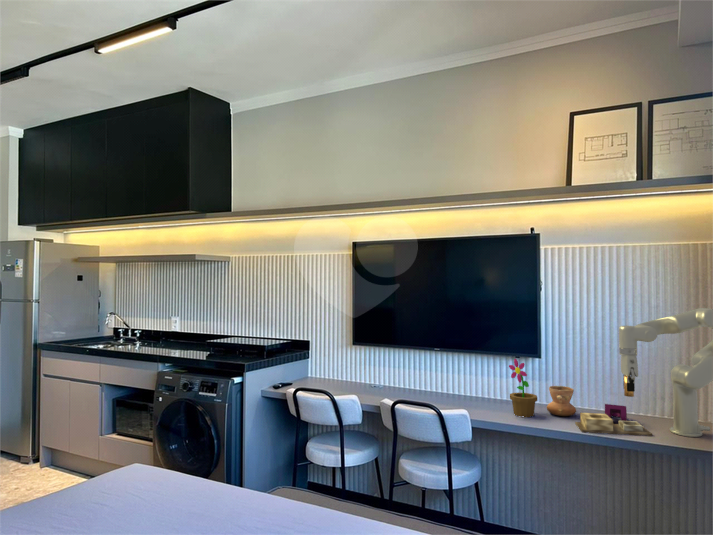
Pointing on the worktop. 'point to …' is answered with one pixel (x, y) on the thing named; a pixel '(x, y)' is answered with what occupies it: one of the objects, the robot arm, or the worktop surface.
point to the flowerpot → (522, 394)
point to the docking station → (609, 425)
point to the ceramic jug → (561, 401)
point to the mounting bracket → (616, 411)
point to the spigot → (626, 393)
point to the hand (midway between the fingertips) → (629, 389)
